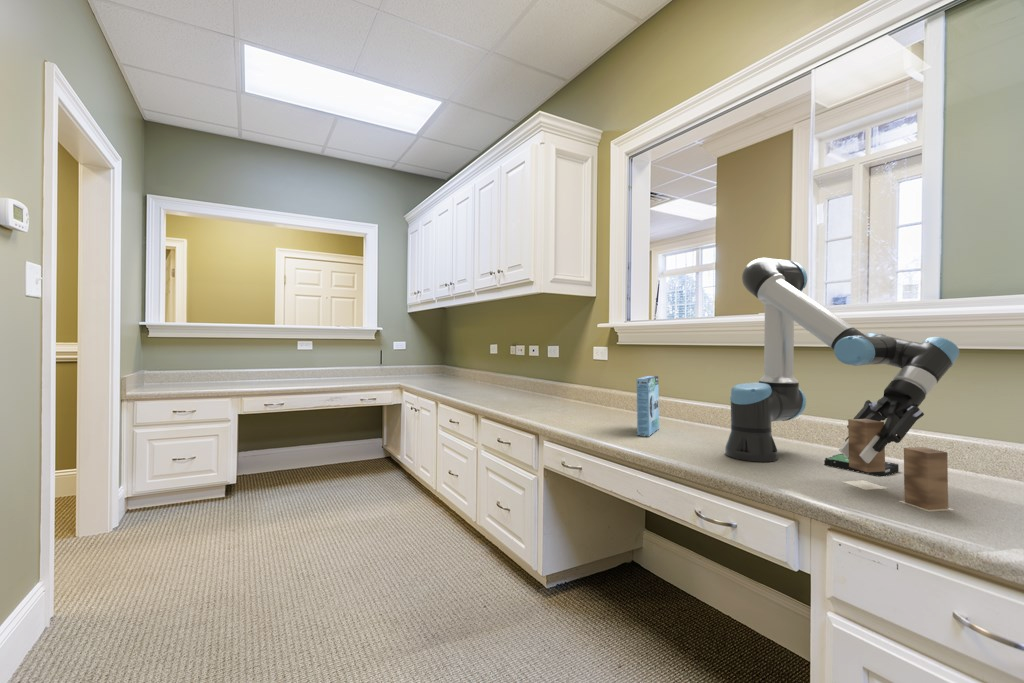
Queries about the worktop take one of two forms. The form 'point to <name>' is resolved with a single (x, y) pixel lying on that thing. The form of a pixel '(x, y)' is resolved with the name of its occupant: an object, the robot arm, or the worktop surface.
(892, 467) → the disk drive
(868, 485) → the board
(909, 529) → the worktop surface
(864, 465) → the post
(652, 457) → the worktop surface
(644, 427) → the light blue cardboard box
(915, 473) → the built post
